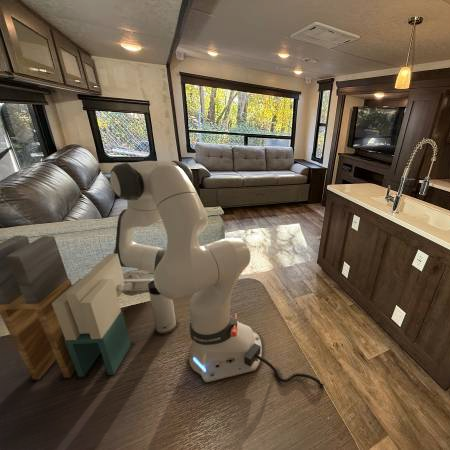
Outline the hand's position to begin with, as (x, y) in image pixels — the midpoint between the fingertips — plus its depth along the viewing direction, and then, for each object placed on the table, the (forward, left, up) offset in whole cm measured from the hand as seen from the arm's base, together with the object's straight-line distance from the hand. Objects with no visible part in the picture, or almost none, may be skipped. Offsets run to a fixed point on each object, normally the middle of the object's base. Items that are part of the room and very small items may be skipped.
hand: (112, 288), depth 76 cm
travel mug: (-13, -2, -19) cm, 23 cm away
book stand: (+11, +10, -19) cm, 24 cm away
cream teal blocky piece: (0, +10, -19) cm, 21 cm away
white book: (0, +5, -4) cm, 6 cm away
